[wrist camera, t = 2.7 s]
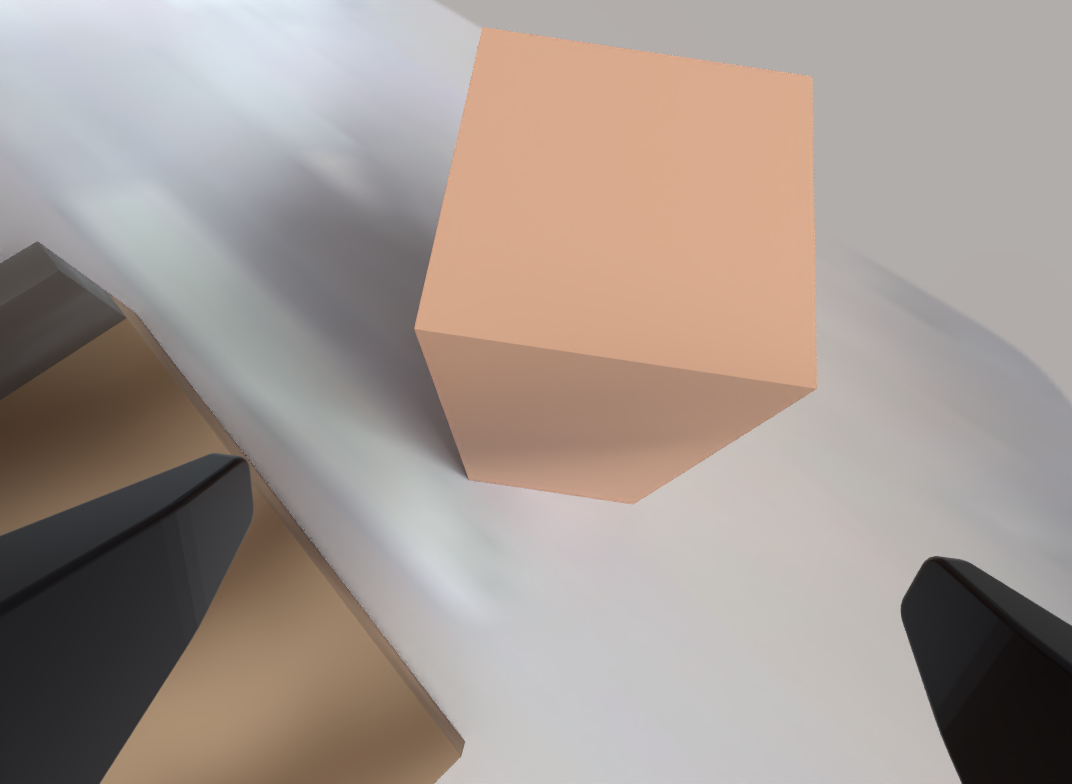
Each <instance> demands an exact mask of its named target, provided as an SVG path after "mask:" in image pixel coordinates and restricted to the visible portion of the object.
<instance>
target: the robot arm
mask: <svg viewBox="0 0 1072 784" xmlns="http://www.w3.org/2000/svg"><path fill="white" fill-rule="evenodd" d="M253 514H254V501H253V492H252V483H251V474H250V467H249V463H248V461H247V460H246V459H245V458H244V457H242V456H236V455H229V454H222V453H211V454H208V455H205V456H203V457H200V458H198V459H195V460H193V461H190V462H187V463H185V464H182V465H180V466H177V467H175V468H172V469H170V470H167V471H164V472H162V473H159V474H157V475H154V476H152V477H149V478H146V479H144V480H141V481H139V482H136V483H134V484H131V485H129V486H126V487H123V488H121V489H118V490H116V491H113V492H111V493H108V494H106V495H103V496H100V497H98V498H95V499H93V500H90V501H88V502H85V503H82V504H80V505H77V506H75V507H72V508H70V509H67V510H65V511H62V512H59V513H57V514H54V515H52V516H49V517H47V518H44V519H41V520H39V521H36V522H34V523H31V524H29V525H26V526H24V527H21V528H18V529H16V530H13V531H11V532H8V533H6V534H3V535H1V536H0V784H100V783H101V781H102V780H103V778H104V777H105V775H106V773H107V772H108V770H109V769H110V767H111V766H112V764H113V762H114V761H115V759H116V758H117V756H118V755H119V753H120V751H121V750H122V748H123V747H124V745H125V744H126V742H127V741H128V739H129V737H130V736H131V734H132V733H133V731H134V730H135V728H136V726H137V725H138V723H139V722H140V720H141V719H142V717H143V715H144V714H145V712H146V711H147V709H148V708H149V706H150V704H151V703H152V701H153V700H154V698H155V697H156V695H157V693H158V692H159V690H160V689H161V687H162V686H163V684H164V683H165V681H166V679H167V678H168V676H169V675H170V673H171V672H172V670H173V668H174V667H175V665H176V664H177V662H178V661H179V659H180V657H181V656H182V654H183V653H184V651H185V650H186V648H187V646H188V645H189V643H190V641H191V640H192V638H193V636H194V635H195V633H196V632H197V630H198V628H199V626H200V624H201V623H202V621H203V619H204V617H205V615H206V613H207V611H208V609H209V607H210V605H211V603H212V601H213V599H214V597H215V595H216V593H217V591H218V589H219V587H220V585H221V583H222V581H223V579H224V577H225V575H226V573H227V571H228V569H229V567H230V565H231V563H232V561H233V559H234V557H235V555H236V553H237V551H238V549H239V547H240V545H241V543H242V541H243V539H244V537H245V535H246V533H247V531H248V529H249V527H250V525H251V522H252V519H253ZM901 618H902V622H903V625H904V628H905V631H906V634H907V637H908V640H909V643H910V646H911V649H912V652H913V655H914V658H915V661H916V664H917V667H918V670H919V673H920V676H921V679H922V682H923V684H924V687H925V690H926V693H927V696H928V699H929V702H930V705H931V708H932V711H933V714H934V717H935V720H936V723H937V725H938V728H939V731H940V734H941V736H942V739H943V741H944V744H945V746H946V748H947V751H948V753H949V756H950V758H951V760H952V763H953V765H954V767H955V769H956V772H957V774H958V776H959V778H960V781H961V783H962V784H1072V626H1071V625H1070V624H1068V623H1066V622H1065V621H1063V620H1061V619H1060V618H1058V617H1057V616H1055V615H1053V614H1052V613H1050V612H1049V611H1047V610H1045V609H1044V608H1042V607H1040V606H1039V605H1037V604H1036V603H1034V602H1032V601H1031V600H1029V599H1028V598H1026V597H1024V596H1023V595H1021V594H1020V593H1018V592H1016V591H1015V590H1013V589H1011V588H1010V587H1008V586H1007V585H1005V584H1003V583H1002V582H1000V581H999V580H997V579H995V578H994V577H992V576H990V575H989V574H987V573H986V572H984V571H982V570H981V569H979V568H978V567H976V566H974V565H973V564H971V563H969V562H967V561H964V560H961V559H954V558H947V557H940V556H934V557H930V558H928V559H927V560H926V561H925V562H924V563H923V564H922V566H921V568H920V570H919V571H918V573H917V575H916V577H915V578H914V580H913V582H912V584H911V585H910V587H909V589H908V591H907V592H906V594H905V596H904V598H903V600H902V604H901Z"/></svg>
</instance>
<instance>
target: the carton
mask: <svg viewBox="0 0 1072 784" xmlns="http://www.w3.org/2000/svg"><path fill="white" fill-rule="evenodd" d="M813 155H814V154H813V84H812V76H806V75H799V74H792V73H785V72H779V71H772V70H765V69H759V68H752V67H745V66H739V65H731V64H725V63H718V62H711V61H705V60H698V59H692V58H684V57H678V56H672V55H665V54H658V53H651V52H645V51H638V50H631V49H625V48H618V47H611V46H605V45H597V44H591V43H584V42H578V41H570V40H564V39H558V38H551V37H544V36H537V35H531V34H524V33H518V32H511V31H504V30H498V29H491V28H484V27H483V28H482V32H481V36H480V41H479V45H478V50H477V54H476V58H475V63H474V67H473V72H472V76H471V80H470V85H469V89H468V94H467V98H466V102H465V107H464V111H463V116H462V120H461V125H460V129H459V133H458V138H457V142H456V147H455V151H454V155H453V160H452V164H451V169H450V173H449V177H448V182H447V186H446V191H445V195H444V199H443V204H442V208H441V213H440V217H439V221H438V226H437V230H436V235H435V239H434V243H433V248H432V252H431V257H430V261H429V265H428V270H427V274H426V279H425V283H424V288H423V292H422V296H421V301H420V305H419V310H418V314H417V318H416V323H415V327H414V330H415V333H416V336H417V338H418V341H419V344H420V347H421V349H422V352H423V355H424V358H425V360H426V363H427V366H428V369H429V371H430V374H431V377H432V380H433V382H434V385H435V388H436V391H437V393H438V396H439V399H440V402H441V404H442V407H443V410H444V413H445V415H446V418H447V421H448V424H449V426H450V429H451V432H452V435H453V437H454V440H455V443H456V446H457V448H458V451H459V454H460V457H461V459H462V462H463V465H464V468H465V470H466V473H467V476H468V479H469V480H473V481H480V482H487V483H494V484H500V485H507V486H514V487H521V488H527V489H534V490H541V491H548V492H554V493H561V494H568V495H574V496H581V497H588V498H595V499H601V500H608V501H615V502H622V503H628V504H635V503H636V502H638V501H640V500H641V499H643V498H644V497H646V496H647V495H649V494H651V493H652V492H654V491H655V490H657V489H659V488H660V487H662V486H663V485H665V484H667V483H668V482H670V481H671V480H673V479H674V478H676V477H678V476H679V475H681V474H682V473H684V472H686V471H687V470H689V469H690V468H692V467H694V466H695V465H697V464H698V463H700V462H701V461H703V460H705V459H706V458H708V457H709V456H711V455H713V454H714V453H716V452H717V451H719V450H720V449H722V448H724V447H725V446H727V445H728V444H730V443H732V442H733V441H735V440H736V439H738V438H740V437H741V436H743V435H744V434H746V433H747V432H749V431H751V430H752V429H754V428H755V427H757V426H759V425H760V424H762V423H763V422H765V421H767V420H768V419H770V418H771V417H773V416H774V415H776V414H778V413H779V412H781V411H782V410H784V409H786V408H787V407H789V406H790V405H792V404H794V403H795V402H797V401H798V400H800V399H801V398H803V397H805V396H806V395H808V394H809V393H811V392H813V391H814V390H816V389H817V365H816V295H815V224H814V160H813V159H814V158H813V157H814V156H813Z"/></svg>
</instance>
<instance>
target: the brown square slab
mask: <svg viewBox="0 0 1072 784" xmlns="http://www.w3.org/2000/svg"><path fill="white" fill-rule="evenodd" d="M211 453H222V454H229V455H236V456H242V457H244V458H245V459H246V460H247V461H248V463H249V467H250V474H251V483H252V492H253V501H254V514H253V519H252V522H251V525H250V527H249V529H248V531H247V533H246V535H245V537H244V539H243V541H242V543H241V545H240V547H239V549H238V551H237V553H236V555H235V557H234V559H233V561H232V563H231V565H230V567H229V569H228V571H227V573H226V575H225V577H224V579H223V581H222V583H221V585H220V587H219V589H218V591H217V593H216V595H215V597H214V599H213V601H212V603H211V605H210V607H209V609H208V611H207V613H206V615H205V617H204V619H203V621H202V623H201V624H200V626H199V628H198V630H197V632H196V633H195V635H194V636H193V638H192V640H191V641H190V643H189V645H188V646H187V648H186V650H185V651H184V653H183V654H182V656H181V657H180V659H179V661H178V662H177V664H176V665H175V667H174V668H173V670H172V672H171V673H170V675H169V676H168V678H167V679H166V681H165V683H164V684H163V686H162V687H161V689H160V690H159V692H158V693H157V695H156V697H155V698H154V700H153V701H152V703H151V704H150V706H149V708H148V709H147V711H146V712H145V714H144V715H143V717H142V719H141V720H140V722H139V723H138V725H137V726H136V728H135V730H134V731H133V733H132V734H131V736H130V737H129V739H128V741H127V742H126V744H125V745H124V747H123V748H122V750H121V751H120V753H119V755H118V756H117V758H116V759H115V761H114V762H113V764H112V766H111V767H110V769H109V770H108V772H107V773H106V775H105V777H104V778H103V780H102V781H101V783H100V784H434V783H435V782H436V781H437V780H438V779H439V778H440V777H441V776H442V775H443V774H444V773H445V772H446V771H447V770H448V769H449V768H450V767H451V766H452V765H453V764H454V763H455V762H456V761H457V760H458V759H459V758H460V757H461V755H462V751H463V747H464V744H465V741H464V740H463V738H462V737H461V736H460V735H459V733H458V732H457V731H456V729H455V728H454V727H453V725H452V724H451V723H450V722H449V720H448V719H447V718H446V716H445V715H444V714H443V712H442V711H441V710H440V709H439V707H438V706H437V705H436V703H435V702H434V701H433V699H432V698H431V697H430V696H429V694H428V693H427V692H426V690H425V689H424V688H423V686H422V685H421V684H420V683H419V681H418V680H417V679H416V677H415V676H414V675H413V673H412V672H411V671H410V670H409V668H408V667H407V666H406V664H405V663H404V662H403V660H402V659H401V658H400V657H399V655H398V654H397V653H396V651H395V650H394V649H393V647H392V646H391V645H390V644H389V642H388V641H387V640H386V638H385V637H384V636H383V634H382V633H381V632H380V631H379V629H378V628H377V627H376V625H375V624H374V623H373V621H372V620H371V619H370V618H369V616H368V615H367V614H366V612H365V611H364V610H363V608H362V607H361V606H360V605H359V603H358V602H357V601H356V599H355V598H354V597H353V595H352V594H351V593H350V592H349V590H348V589H347V588H346V586H345V585H344V584H343V582H342V581H341V580H340V578H339V577H338V576H337V575H336V573H335V572H334V571H333V569H332V568H331V567H330V565H329V564H328V563H327V562H326V560H325V559H324V558H323V556H322V555H321V554H320V552H319V551H318V550H317V549H316V547H315V546H314V545H313V543H312V542H311V541H310V539H309V538H308V537H307V536H306V534H305V533H304V532H303V530H302V529H301V528H300V526H299V525H298V524H297V523H296V521H295V520H294V519H293V517H292V516H291V515H290V513H289V512H288V511H287V510H286V508H285V507H284V506H283V504H282V503H281V502H280V500H279V499H278V498H277V497H276V495H275V494H274V493H273V491H272V490H271V489H270V487H269V486H268V485H267V484H266V482H265V481H264V480H263V478H262V477H261V476H260V474H259V473H258V472H257V471H256V469H255V468H254V467H253V465H252V464H251V463H250V461H249V460H248V459H247V458H246V456H245V455H244V454H243V452H242V451H241V450H240V448H239V447H238V446H237V445H236V443H235V442H234V441H233V439H232V438H231V437H230V435H229V434H228V433H227V432H226V430H225V429H224V428H223V426H222V425H221V424H220V422H219V421H218V420H217V419H216V417H215V416H214V415H213V413H212V412H211V411H210V409H209V408H208V407H207V405H206V404H205V403H204V402H203V400H202V399H201V398H200V396H199V395H198V394H197V392H196V391H195V390H194V389H193V387H192V386H191V385H190V383H189V382H188V381H187V379H186V378H185V377H184V376H183V374H182V373H181V372H180V370H179V369H178V368H177V366H176V365H175V364H174V363H173V361H172V360H171V359H170V357H169V356H168V355H167V353H166V352H165V351H164V350H163V348H162V347H161V346H160V344H159V343H158V342H157V340H156V339H155V338H154V337H153V335H152V334H151V333H150V331H149V330H148V329H147V327H146V326H145V325H144V324H143V322H142V321H141V320H140V318H139V317H138V316H137V314H136V313H135V312H133V311H132V310H131V309H129V308H128V307H127V306H125V305H124V304H122V303H121V302H120V301H118V300H117V299H116V298H114V297H113V296H112V295H110V294H109V293H107V292H106V291H105V290H103V289H102V288H101V287H99V286H98V285H96V284H95V283H94V282H92V281H91V280H90V279H88V278H87V277H86V276H84V275H83V274H81V273H80V272H79V271H77V270H76V269H75V268H73V267H72V266H70V265H69V264H68V263H66V262H65V261H64V260H62V259H61V258H60V257H58V256H57V255H55V254H54V253H53V252H51V251H50V250H49V249H47V248H46V247H44V246H43V245H42V244H40V243H39V242H36V243H34V244H32V245H31V246H29V247H27V248H26V249H24V250H22V251H21V252H19V253H17V254H16V255H14V256H12V257H10V258H9V259H7V260H5V261H4V262H2V263H0V536H1V535H3V534H6V533H8V532H11V531H13V530H16V529H18V528H21V527H24V526H26V525H29V524H31V523H34V522H36V521H39V520H41V519H44V518H47V517H49V516H52V515H54V514H57V513H59V512H62V511H65V510H67V509H70V508H72V507H75V506H77V505H80V504H82V503H85V502H88V501H90V500H93V499H95V498H98V497H100V496H103V495H106V494H108V493H111V492H113V491H116V490H118V489H121V488H123V487H126V486H129V485H131V484H134V483H136V482H139V481H141V480H144V479H146V478H149V477H152V476H154V475H157V474H159V473H162V472H164V471H167V470H170V469H172V468H175V467H177V466H180V465H182V464H185V463H187V462H190V461H193V460H195V459H198V458H200V457H203V456H205V455H208V454H211Z"/></svg>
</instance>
